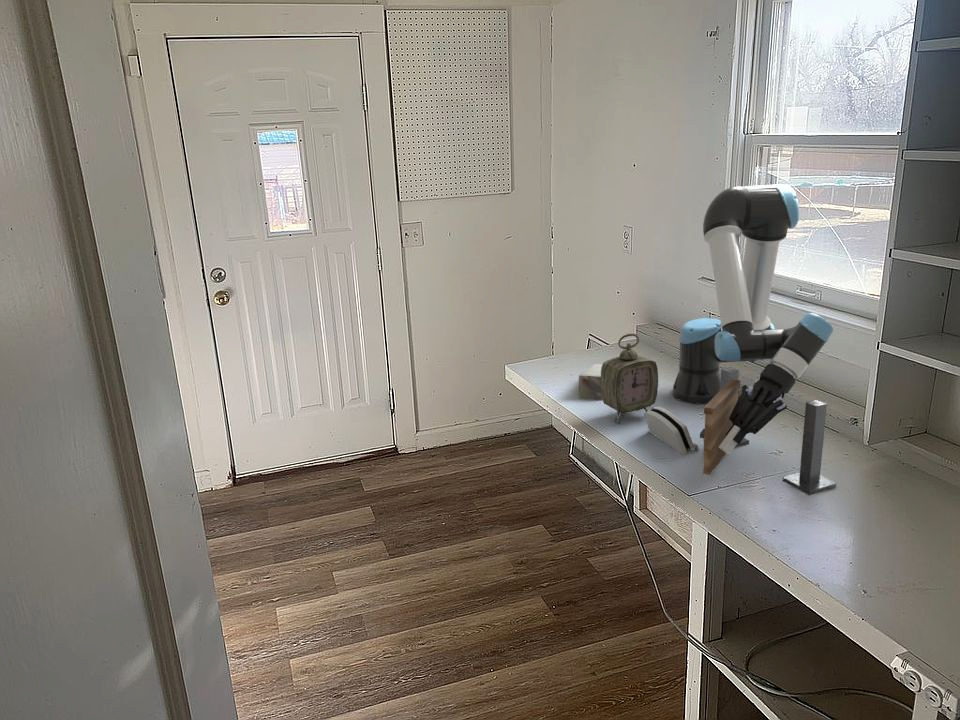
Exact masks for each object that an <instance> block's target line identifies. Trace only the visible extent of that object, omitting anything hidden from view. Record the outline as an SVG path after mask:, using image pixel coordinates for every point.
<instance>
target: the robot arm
mask: <svg viewBox="0 0 960 720" xmlns="http://www.w3.org/2000/svg"><path fill="white" fill-rule="evenodd" d="M708 205H709V206H708V208H707V210H706V212H705V215H704V217H703V223H702V232H703V238H704V242H706V243H708V247H709V253H710V259H711V264H712V266H711V267H712V271H713V272H712V273H713V279H714V286H715V291H716V299H717V305H718V313H719V318H716V317H715V318H714V317H711V318H709V317H702V318H696V319H692V320H689V321H687V322H685V323H684V324H682V326H681V328H680V334H679V340H678V341H679V360H678V361H679V363H678V365H679V367H678V373H677V375H676V377H675V380H674V383H673V386H672V396H673V398H675V399H676V400H679V401H681V402H684V403H689V404H698V405H699V404H701V405H703V404H705V405H707V404H708V403H709V401H710V400H711V399H712V398H713V397H714V396H715V395H716V394H717V393H718V392H719V391H720V386H721V373H720V363H722V364H723V363H739V362H740V363H743V362H745V363H746V362H750V363H755V362H757V361H758V362H759V361H760V362H761V361H765V360H770V361H769V363H768V364H767V365H766V366H765V368H764V369H763V370H762V371H761V373H759V374H760V375H759V379H758V380H757V381H756V382H754V383H753V385H751V386H750V385H749V386H748V385H746V384H744V385H742V386H741V393H740V395H739V396H738V401H737V403H736V405H735V407H734V409H733V411H732V413H731V415H730V417H729V419H730V420H731V422H732V423H733V425H732V426H731V428H730V429H729V431H728V432H727V433H726V435H725V436H726V437H725V439H724V440H723V441H722V443H721V444H720V445H719V448H720V449H721V450H722V451H723V452H724V453H726V455H728V456H729V455H730V454H731V453H732V452H733V450H734V449H735V448H734V447H735V446H736V445H737V443H738V444H739V443H740V442H741V441H742V440H743V438H746V436H747V434H753V435H756V434H757V433H759V432H760V431H761V430H762V429H763V428H765V426H766V425H767V424H768V423H769V422H771V420H773V419H774V418H775V417H776V416H777V415H778V414H779V413H781V412H783V411H785V410H786V409H787V408H788V405H787V404H786V403H785V402H784V398H785V394H788V393H789V392H790V391H791V390H792V389H793V387H794V385H795V384H796V382H797V381H796V380H798V379H800V378H801V376H802V375H803V374H804V372H805V371H806V369H807V368H808V366H809V365H810V364H811V363H812V361H813V360H814V358H815V357H816V356H817V355H818V353H819V352H820V351H821V350H822V348H823V347H824V346H825V344H826V343H828V341H829V338H830V337H831V336H832V335H833V332H834V326H833V325H832V324H831V323H830V321H828V320H827V319H826V318H824V317H822V316H820V315H818V314H816V313H814V312H807V313H806V314H805V315H803V317H802V318H801V319H799V320H798V323H797V324H796V325H795V326H792V327H790V328H775V325H774V324H773V323H772V320H771V318H770V317H769V316H768V315H767V314H768V309H769V304H770V298H771V293H772V292H771V291H772V288H773V287H772V285H773V280H774V275H775V269H776V262H777V257H778V253H779V252H778V251H779V247H780V246H779V245H780V242H782V241H783V240H785V239H786V238H787V234H788V231H789V229H794V228H796V226H797V224H798V222H799V219H800V209H799V207H800V206H799V201H798V197H797V194H796V192H795V190H794V189H793V188H792V186H790V185H789V184H776V183H773V184H765V185H762V184H761V185H747V186H740V185H739V186H732V187H728V188H726V189H723V190H722V191H720V192H719V193H718V195H716V196H715V197H714V198H713V200H712V201H711V202H710V204H708ZM741 236H743V237H744V238H745V240H746V241H745V247H744V254H743V257H742V251H741V245H740V244H741V243H740V239H739V238H740V237H741Z"/></svg>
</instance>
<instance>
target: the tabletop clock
mask: <svg viewBox="0 0 960 720" xmlns="http://www.w3.org/2000/svg"><path fill="white" fill-rule="evenodd" d="M627 337H636V339H637V340H636V342H635V343H634V344H631V343H627V344H626V346H623V345H621V341H622V340H623V339H625V338H627ZM639 342H640V337H639V335H637V334H635V333H627V334H625V335H623V336H621V337H620V338H619V340H618V343H617V344H618V347H619V348H620V349H623V350H622V351H621V352H620V353H619V356H617V357H612V358H609V359H608V360H606V361H604V362H603V363H602V368H601V381H600V383H601V395H602V399H603V400H602V402H603V404H604V405H606V406H608V407H609V408H612V409H614V410H615V411H616V418H615V419H614V423H615V424H617V425H618V424H620V423H621V419H620V415H621V416H625V415H626V413H631V412H638V411H641V410H644V411H645V413H646V412H647V411H650V410H648V408H649V407H651V406H652V405H654V404H655V402H656V400H657V397H658V390H659V389H658V387H659V371H658V366H657V365H658V364H657V362H656V361H654V360H653V359H652V360H651V359H649V358H646V357H644V356H642V355H639V354H638V353H637V351H636V350H635V349H632V348H634V347H636V346H637V345H638V344H639Z"/></svg>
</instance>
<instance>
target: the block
mask: <svg viewBox="0 0 960 720" xmlns="http://www.w3.org/2000/svg"><path fill="white" fill-rule="evenodd" d="M602 364H603V363H602ZM602 364H601V363H594V364H592V365H591V366H590V367H589V368H588V369H587V370H585V372H584V373H580V374H579V375H578V399H580V400H591V401H593V400H594V401H603V399H602V395H601V383H600V381H601V368H602Z"/></svg>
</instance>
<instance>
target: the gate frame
mask: <svg viewBox="0 0 960 720" xmlns="http://www.w3.org/2000/svg"><path fill="white" fill-rule="evenodd" d="M739 373H740V370H739V369H737V368H734V367H732V366H729V367H724V368H721V370H720V377H721V386H720V390H721V389H722V388H723V387H724V386H725V385H726V384H727V383H728V381H729V380H730V379H733V380H739V377H740V376H739V375H740V374H739ZM827 405H828V404H827V403H826V402H824V401H821V400H818V399H814V400H810V401H806V402H805V409H804V410H805V411H804V420H803V421H804V422H803V432H802V433H803V434H802V445H801V455H800V465H799V467H800V468H799V472H796V473H793V474H789V475H786V476H782V482H784V483H786V484H787V485H789V486H790V487H793V488H795V489H797V490H799V491H800V492H802V493H805V494H806V495H808V496H812V495H816V494H819V493H822V492H825V491H828V490H832V489H835V488H836V487H837V482H835V481H833V480H831V479H829V478H826V477H825V476H823V475H821V468H822V459H823V458H822V457H823V456H822V455H823V448H824V437H825V428H826V427H825V426H826V418H827V408H828V407H827ZM749 444H750V440H749V439H748V438H746V437H744V438H743V440H742V441H741V442H740V443H739V444H738V443H737V445H736V446H735V447H734V449H735V448H740V447H742V446H746V445H747V446H748V445H749Z"/></svg>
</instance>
